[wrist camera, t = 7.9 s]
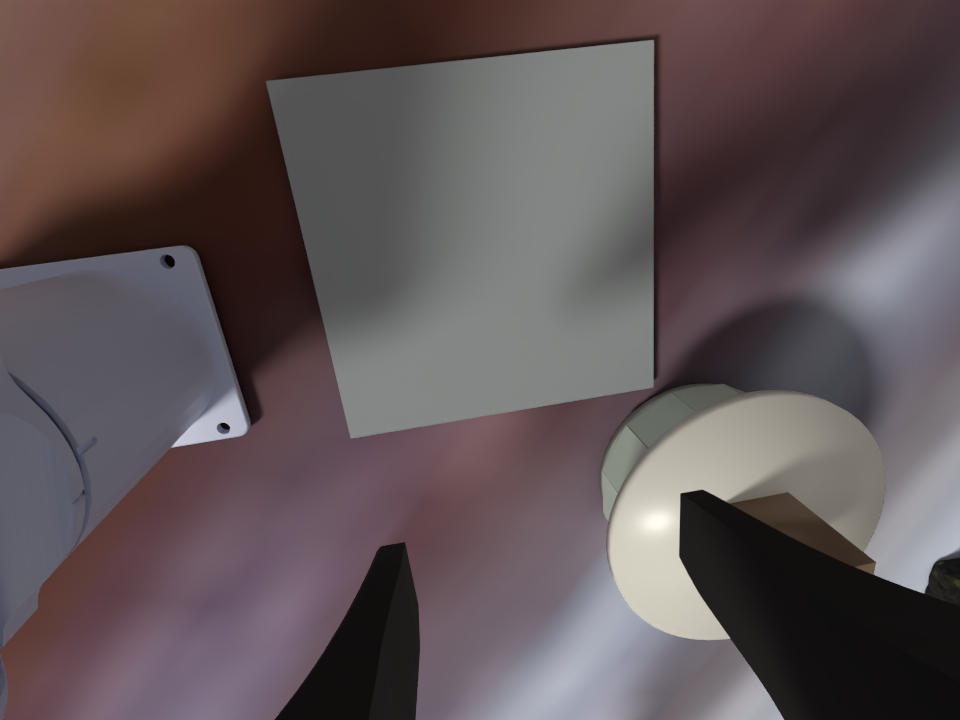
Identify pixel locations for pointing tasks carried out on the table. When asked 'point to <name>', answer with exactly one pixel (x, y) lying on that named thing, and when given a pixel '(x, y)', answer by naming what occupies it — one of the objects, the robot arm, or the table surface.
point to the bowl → (651, 431)
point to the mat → (478, 229)
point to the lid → (744, 494)
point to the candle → (945, 581)
